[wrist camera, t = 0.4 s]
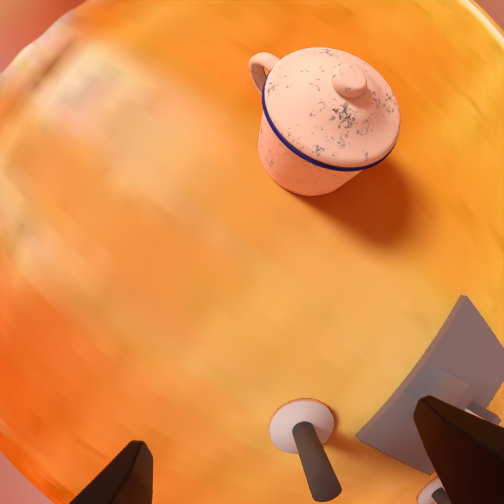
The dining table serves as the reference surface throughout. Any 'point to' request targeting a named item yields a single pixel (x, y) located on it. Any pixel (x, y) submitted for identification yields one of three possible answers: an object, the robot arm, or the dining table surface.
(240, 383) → the dining table surface
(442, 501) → the post
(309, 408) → the post
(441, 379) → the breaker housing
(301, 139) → the teacup with lid
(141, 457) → the robot arm
